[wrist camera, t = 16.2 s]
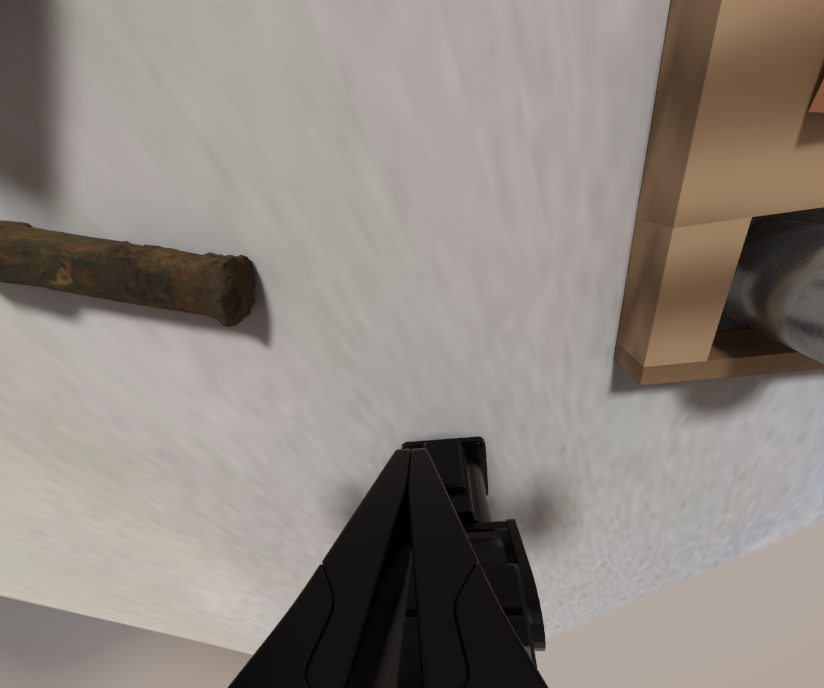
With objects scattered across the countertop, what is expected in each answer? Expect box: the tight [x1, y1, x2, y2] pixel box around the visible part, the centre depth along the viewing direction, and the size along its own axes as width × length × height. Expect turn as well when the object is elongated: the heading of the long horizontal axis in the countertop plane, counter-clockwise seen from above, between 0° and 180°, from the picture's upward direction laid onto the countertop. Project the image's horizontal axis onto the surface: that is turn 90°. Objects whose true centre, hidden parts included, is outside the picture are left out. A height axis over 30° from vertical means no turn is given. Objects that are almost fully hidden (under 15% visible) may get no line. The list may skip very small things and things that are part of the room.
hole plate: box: [614, 0, 824, 385], centre depth 15 cm, size 18×14×3 cm
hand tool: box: [0, 221, 255, 327], centre depth 18 cm, size 19×4×5 cm, turn 78°
